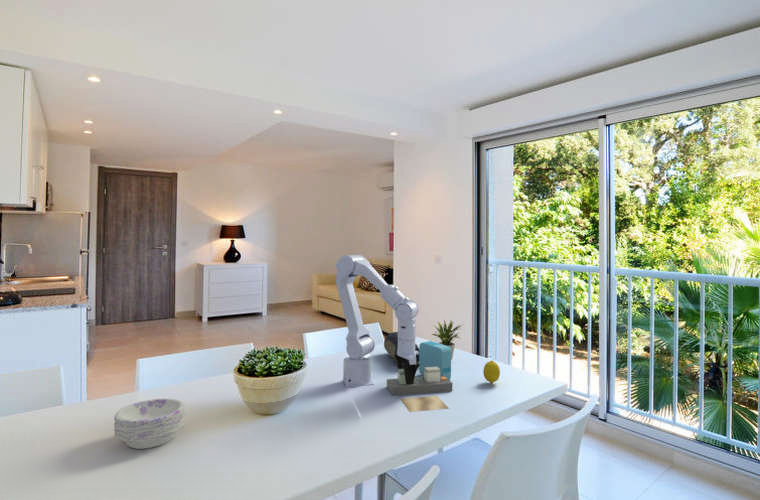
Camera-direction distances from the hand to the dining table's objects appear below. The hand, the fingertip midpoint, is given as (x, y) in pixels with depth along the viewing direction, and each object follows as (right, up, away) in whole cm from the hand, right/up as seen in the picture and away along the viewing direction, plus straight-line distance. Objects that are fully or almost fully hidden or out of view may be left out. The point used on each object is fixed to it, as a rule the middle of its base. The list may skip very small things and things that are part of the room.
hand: (406, 380), depth 141 cm
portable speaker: (0, -3, +35) cm, 35 cm away
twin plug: (+9, -4, +2) cm, 10 cm away
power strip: (+4, -4, +1) cm, 6 cm away
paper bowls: (-65, -5, -35) cm, 74 cm away
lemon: (+30, -4, +8) cm, 31 cm away
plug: (0, -4, 0) cm, 4 cm away
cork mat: (+5, -4, -11) cm, 13 cm away
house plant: (+19, -3, +37) cm, 41 cm away
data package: (+11, -4, +14) cm, 18 cm away
